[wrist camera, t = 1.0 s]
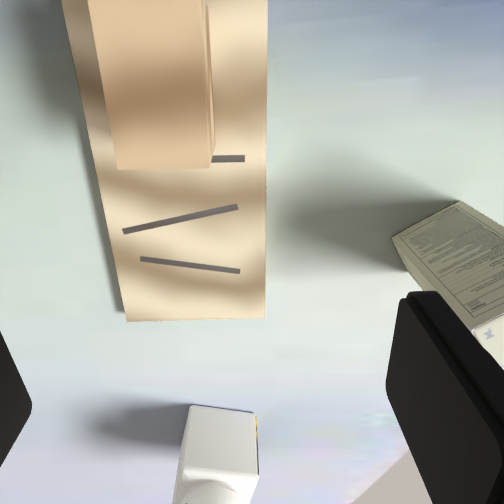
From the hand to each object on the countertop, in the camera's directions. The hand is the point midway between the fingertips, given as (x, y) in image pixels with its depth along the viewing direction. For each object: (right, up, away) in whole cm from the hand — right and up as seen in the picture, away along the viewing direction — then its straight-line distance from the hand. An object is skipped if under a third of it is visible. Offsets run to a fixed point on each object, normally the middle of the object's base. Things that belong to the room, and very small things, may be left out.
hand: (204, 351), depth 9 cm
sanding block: (-4, +13, +15) cm, 21 cm away
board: (-4, +8, +20) cm, 21 cm away
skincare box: (+16, +4, +22) cm, 28 cm away
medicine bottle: (-3, -17, +33) cm, 37 cm away
